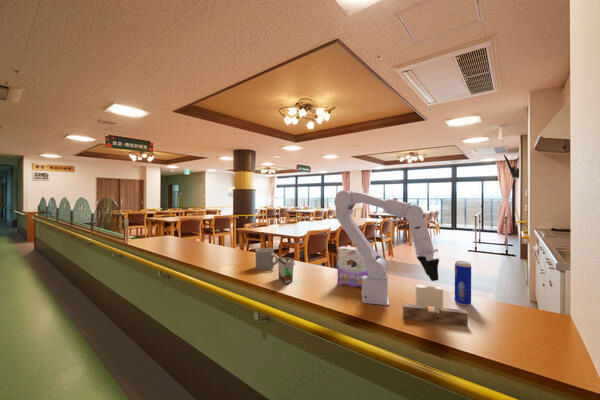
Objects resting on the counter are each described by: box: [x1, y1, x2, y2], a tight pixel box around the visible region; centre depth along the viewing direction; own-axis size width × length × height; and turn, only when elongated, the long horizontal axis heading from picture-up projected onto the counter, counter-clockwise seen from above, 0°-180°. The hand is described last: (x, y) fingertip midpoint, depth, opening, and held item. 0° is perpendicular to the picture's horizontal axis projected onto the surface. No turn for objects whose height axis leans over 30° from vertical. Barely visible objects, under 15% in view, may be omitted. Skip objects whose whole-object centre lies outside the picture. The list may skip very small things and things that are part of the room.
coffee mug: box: [255, 247, 279, 271], centre depth 144 cm, size 13×10×10 cm
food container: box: [277, 256, 296, 285], centre depth 123 cm, size 12×6×10 cm, turn 22°
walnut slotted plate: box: [402, 303, 469, 327], centre depth 83 cm, size 18×2×4 cm, turn 74°
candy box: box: [336, 245, 368, 289], centre depth 117 cm, size 14×6×16 cm, turn 63°
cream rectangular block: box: [415, 284, 444, 314], centre depth 91 cm, size 8×2×8 cm, turn 74°
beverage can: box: [454, 260, 472, 307], centre depth 96 cm, size 5×5×15 cm
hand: (432, 277), depth 91 cm, fingers open, 7 cm apart
